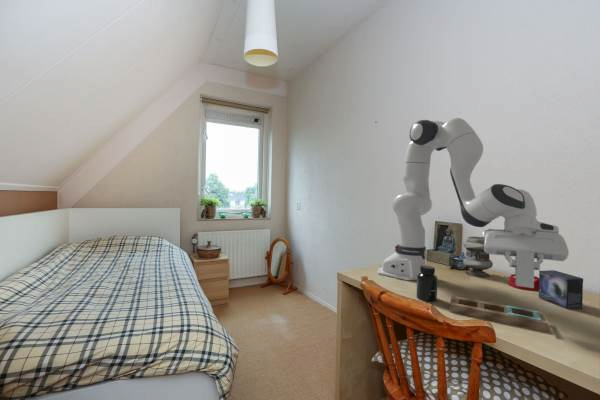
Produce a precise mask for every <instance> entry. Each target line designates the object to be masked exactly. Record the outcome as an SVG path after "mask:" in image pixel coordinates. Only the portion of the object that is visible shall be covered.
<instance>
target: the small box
mask: <svg viewBox="0 0 600 400" xmlns="http://www.w3.org/2000/svg"><path fill="white" fill-rule="evenodd" d="M538 272H539V274H538V275H539V276H538V278H539V290H538V298H539V299H541V300H543V301H546V302H547V303H548V302H549V303H551V304H554V305H556V306H558V307H561V308H563V309H566V310H578V309H581V310H582V309H583V295H584V294H583V293H584V290H583V289H584V278H582V277H580V276H575V275H572V274H569V273H566V272H565V273H564V272H562V271H559V270H554V269H550V270H548V269H547V270H538Z"/></svg>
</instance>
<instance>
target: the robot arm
mask: <svg viewBox="0 0 600 400" xmlns="http://www.w3.org/2000/svg"><path fill="white" fill-rule="evenodd" d="M409 138H410V139H409V140H410V142H409V143H408V146H407V148H406V152H405V158H404V165H403V174H402V180H403V183H404V186H405V191H406V192H404V193H401V194H399V195H397V196H395V198H394V199H393V201H392V210H393V212H394V213H395V214H396V217H397V218H396V219H397V221H398V226H399V228H398V229H399V243H397V244H396V245H395V246H394V251H395V252H393V253H392V254H391V255H389V256H388V257H386V258H385V259H384V260H383V262H382V266H381V267H379V268H378V269H377V274H378V275H382V276H386V277H391V278H395V279H400V280H404V281H417V275H418V274H419V273H421V272H420V266H427V264H426V258H427V246H426V229H425V227H424V225H423V222H422V216H424V215H426V214H427V213H428V212H430V211H431V210H432V206H433V202H432V199H431V193H430V187H429V186H430V182H429V180H430V179H429V177H430V171H431V169H430V168H431V160H432V159H431V156H432V154H433V152H434V151H437V152H440V151H443V150H445V149H446V151H448V153H449V158H450V159H449V160H450V169H449V174H450V178H451V181H452V184H453V187H454V190H455V193H456V196H457V199H458V201H459V207H460V212H461V218H462V219H463V220H464V222H466V224H468V225H470V226H472V227H477V228H484V227H486V226H487V225H489V224H490V223H491V222H493V221H494V220H495V219H498V218H500V217H503V219H504V222H503V225H504V228H503V229H494V228H493V229H492V228H488V229H486V230H483V232H482V237H483V238H484V239H485V242H484V251H485V252H486V253H487V254H489V255H495V256H504V258H505V259H506V261H507V262H508V263H509V267H510V268H515V267H516V260H515V259H513V257H515V251H516V250H521V251H532V252H533V253H534V260H535V259H536V261H534V271H541V270H540V269H541V264H542V263H543V262H544V260H548V261H557V262H564V261H566V260H567V259H568V257H569V254H570V253H569V249H568V245H567V243H566V240H565V238H564V237H563V236H562V235H561V234H560V233H559V232H560V228H559V226H557V225H554V224H549V223H545V222H541V221H539V220H537V215H538V212H537V208H536V203H535V201H534V198H533V197H532V195H531V194H530V193H529V192H528V191H526V190H524V189H517V188H515V187H513V186H510V185H507V184H503V183H496V184H492V185H491V186H489V187H488V188H487V189H485V190H484V191H482V192H481V193H480V194H478V195H477V196H476V194H475V191H474V189H473V186H472V184H471V177H472V176H471V175H472V174H473V171H474V169H475V167H476V166H477V164H478V163H479V161H480V160H481V158H482V156H483V153H484V145H483V142H482V140H481V138H480V137H479V135H478V133H476V131H475V129H473V127H472V126H471V125H470V124H469V123H468V122H467V121H466V120H465V119H462V118H461V117H460V118H459V117H453V118H451V119H448V120H447V121H446V122H443V121H439V120H429V119H420V120H417V121H416V122H414V123H413V124H412V125H411V127H410V130H409Z"/></svg>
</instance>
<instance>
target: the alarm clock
mask: <svg viewBox="0 0 600 400" xmlns="http://www.w3.org/2000/svg"><path fill="white" fill-rule="evenodd" d="M503 278H508V279H509V280H508V283H507V285H508V286H511V287H513V288H516V289H521V290H526V291H539V276H535V275H534V288H529V287H521V286H516V284H515V273H514V274H510V276H505V275H503Z"/></svg>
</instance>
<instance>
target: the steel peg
mask: <svg viewBox="0 0 600 400" xmlns="http://www.w3.org/2000/svg"><path fill="white" fill-rule="evenodd" d="M514 257H515V258H514V260H516V267H514V269H515V270H514V274H515V284H516V286H521V287H529V288H534V276H535V270H534V262H535V258H534V253H533V252H532V251H521V250H516V251H515V256H514Z"/></svg>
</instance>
